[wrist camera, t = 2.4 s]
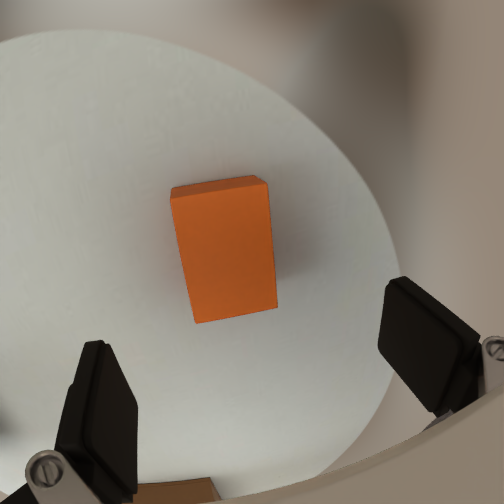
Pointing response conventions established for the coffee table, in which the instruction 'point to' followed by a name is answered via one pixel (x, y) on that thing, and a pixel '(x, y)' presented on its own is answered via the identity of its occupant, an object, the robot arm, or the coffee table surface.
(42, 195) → the coffee table surface
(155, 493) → the carton
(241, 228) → the block
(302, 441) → the coffee table surface
